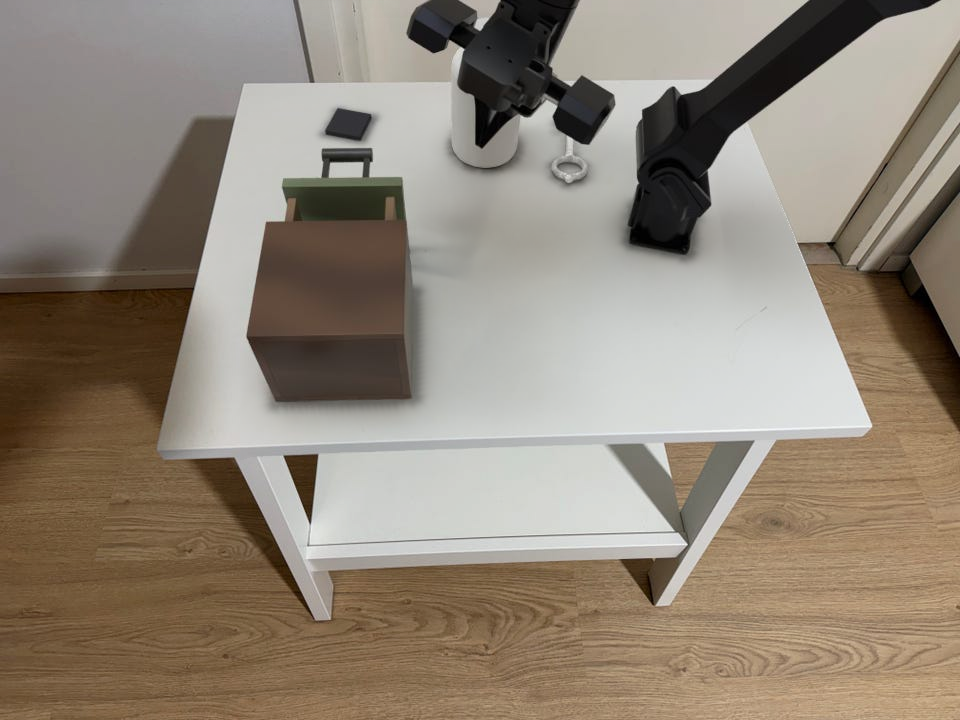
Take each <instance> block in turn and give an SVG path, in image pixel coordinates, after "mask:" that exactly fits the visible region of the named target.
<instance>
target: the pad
mask: <svg viewBox="0 0 960 720" xmlns="http://www.w3.org/2000/svg"><path fill="white" fill-rule="evenodd" d="M371 120H372V114H371V113H368V112H363V111H357V110H352V109H345V108H340V107H337V108H336V110H335V112H334V114H333V116H332V117H331V119H330V120H329V123H328V125H327V126H326V128H325V131H324V132H325V133H324V134H325V135H328V136H333V137H339V138H344V139H350V140H354V141H361V139H362V138H363V136H364V134H365V131H366V130H367V127H368V126H369V124H370V122H371Z"/></svg>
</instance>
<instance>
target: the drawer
mask: <svg viewBox="0 0 960 720" xmlns="http://www.w3.org/2000/svg"><path fill="white" fill-rule="evenodd" d="M320 152H321V161H322V169H321V177H283V178H282V182H281V189H282V193H283V197H284V198H285V204H286V209H285V216H284V221H348V220H407V212H406V202H405V191H404V184H403V183H404V182H403V181H404V180H403V176H370V174H371V173H370V172H371V163H374V151H373V148H372V147H340V148H339V147H325V148H324V147H323V148H321V151H320ZM332 163H333V164H334V163H335V164H337V163H338V164H340V163H342V164H343V163H363V165H362V176H361V177H360V176H359V177H355V176H353V177H330V170H331V164H332Z"/></svg>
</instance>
